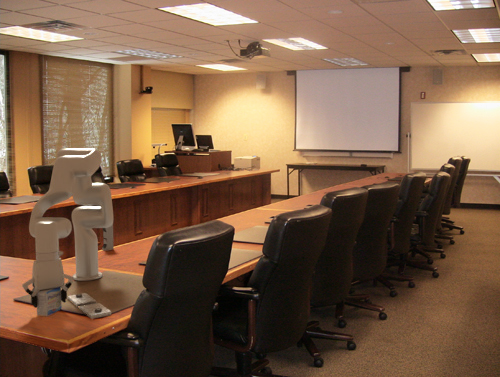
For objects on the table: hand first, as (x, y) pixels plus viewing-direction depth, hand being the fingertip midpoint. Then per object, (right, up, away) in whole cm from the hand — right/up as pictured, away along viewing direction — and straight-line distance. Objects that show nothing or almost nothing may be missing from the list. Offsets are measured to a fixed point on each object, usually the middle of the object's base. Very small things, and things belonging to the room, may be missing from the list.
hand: (49, 304), depth 182 cm
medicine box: (0, -3, 0) cm, 3 cm away
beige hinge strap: (+12, -2, +6) cm, 14 cm away
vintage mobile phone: (-8, +7, +103) cm, 103 cm away
